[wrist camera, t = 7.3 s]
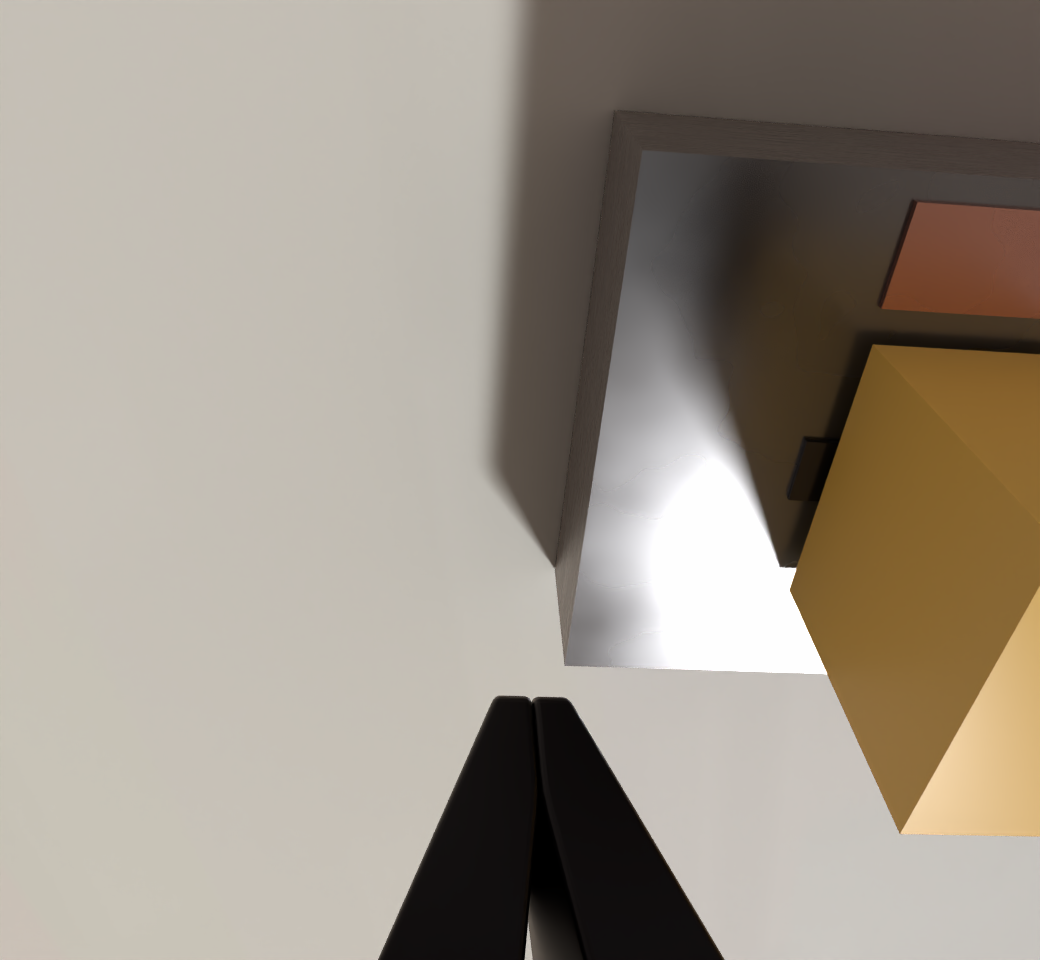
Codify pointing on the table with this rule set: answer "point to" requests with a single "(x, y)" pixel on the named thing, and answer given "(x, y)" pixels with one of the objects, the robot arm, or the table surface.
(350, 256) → the table surface
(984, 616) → the handle
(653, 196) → the power box
